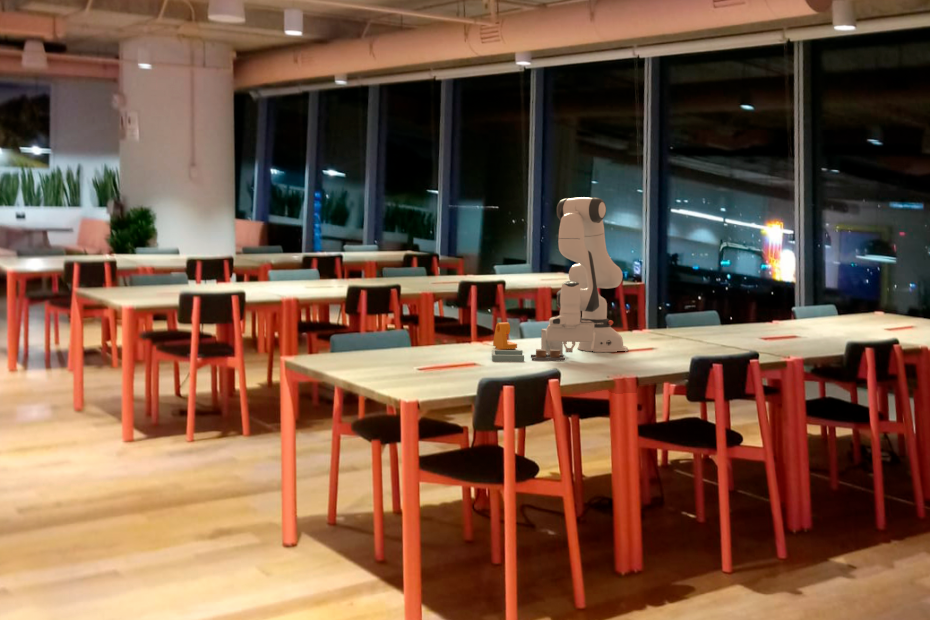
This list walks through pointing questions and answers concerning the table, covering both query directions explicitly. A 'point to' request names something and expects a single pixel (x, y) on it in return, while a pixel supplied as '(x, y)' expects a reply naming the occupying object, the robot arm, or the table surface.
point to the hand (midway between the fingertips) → (569, 352)
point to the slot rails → (548, 358)
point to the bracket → (503, 337)
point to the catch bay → (507, 355)
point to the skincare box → (550, 343)
